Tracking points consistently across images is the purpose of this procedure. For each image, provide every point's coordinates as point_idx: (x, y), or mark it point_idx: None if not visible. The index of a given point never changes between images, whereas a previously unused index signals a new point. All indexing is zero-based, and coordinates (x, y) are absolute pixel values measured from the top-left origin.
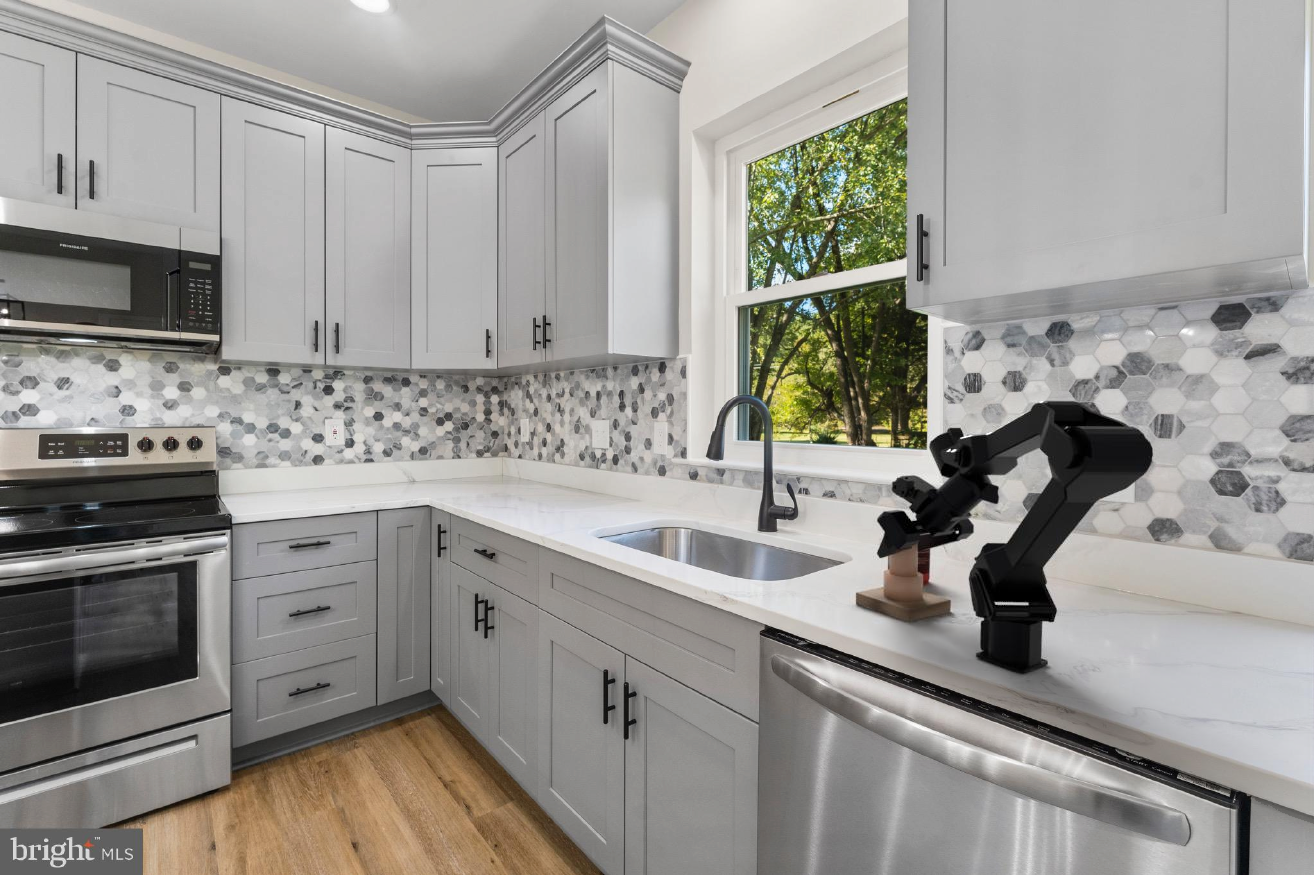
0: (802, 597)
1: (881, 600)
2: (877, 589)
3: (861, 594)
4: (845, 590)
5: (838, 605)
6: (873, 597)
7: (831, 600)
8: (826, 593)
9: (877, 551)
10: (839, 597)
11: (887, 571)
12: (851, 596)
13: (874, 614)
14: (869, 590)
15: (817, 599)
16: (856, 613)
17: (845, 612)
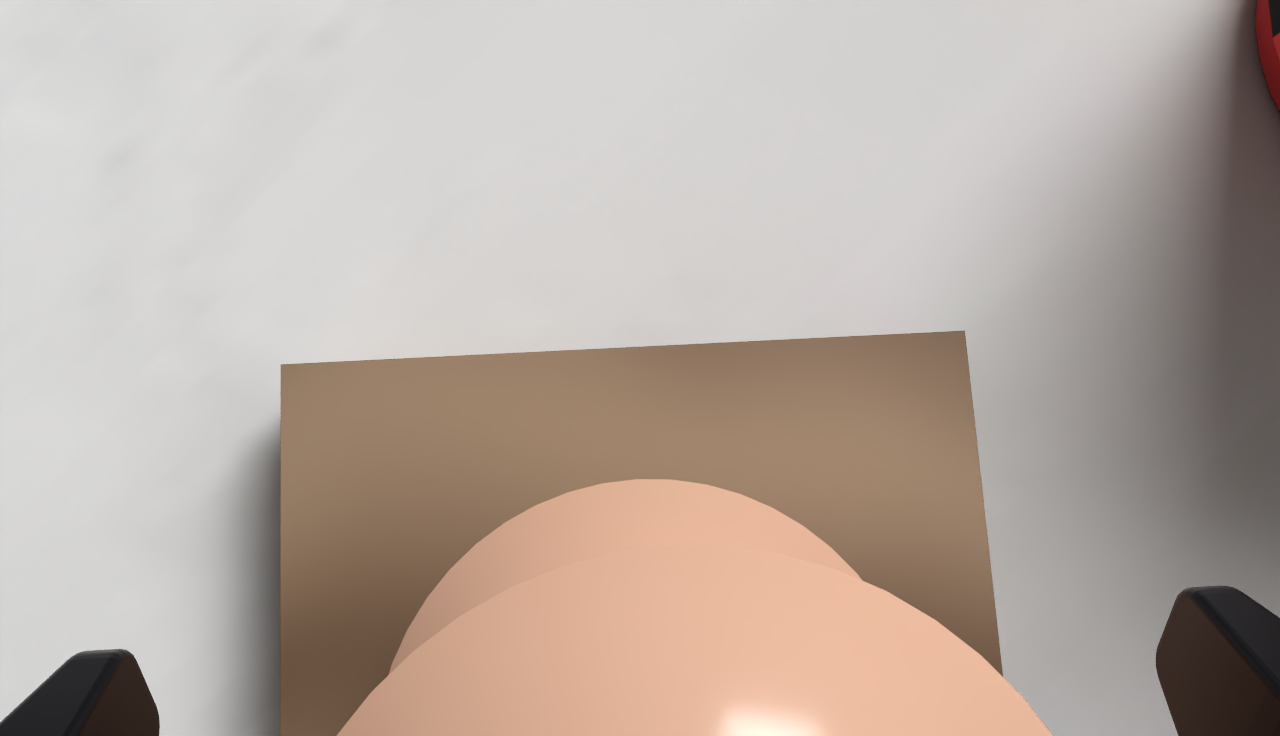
0: (9, 5)
1: (293, 717)
2: (597, 382)
3: (281, 442)
4: (571, 16)
5: (120, 347)
6: (306, 590)
7: (186, 198)
8: (322, 9)
9: (41, 685)
10: (335, 160)
11: (544, 553)
12: (469, 188)
13: (208, 722)
14: (481, 372)
15: (89, 115)
16: (75, 616)
17: (4, 544)
